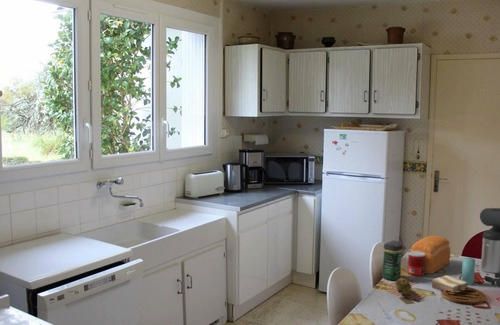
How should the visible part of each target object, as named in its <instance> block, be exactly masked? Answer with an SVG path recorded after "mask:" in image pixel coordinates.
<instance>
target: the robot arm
mask: <svg viewBox="0 0 500 325" xmlns="http://www.w3.org/2000/svg"><path fill="white" fill-rule="evenodd" d="M479 219H480V221H481V223H482V224H483V226H487V227H491V228H489V229H488V230H485V231H484V232H483V233H482V245H481V246H482V248H481V260H480V261H481V262H480V270H481V271H482V272H485V273H492V274H494V277H491V276H488V275H485V276H484V281H485V282H488V283H490V285H491V286H493V287H497V288H500V207H499V208H498V207H496V208H495V207H487V208H484V209H482V210H481V211H480V214H479Z"/></svg>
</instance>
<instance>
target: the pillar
mask: <svg viewBox="0 0 500 325" xmlns="http://www.w3.org/2000/svg"><path fill="white" fill-rule="evenodd" d="M461 265H462V266H461V280H463V281H466V282H467V286H473V285H474V284H475V283H474V282H475V272H476V271H475V270H476V269H475V267H476V259H475V258H471V257H463V258H462V264H461Z"/></svg>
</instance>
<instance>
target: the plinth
mask: <svg viewBox="0 0 500 325" xmlns="http://www.w3.org/2000/svg"><path fill="white" fill-rule="evenodd" d="M431 282H432V284H431V288H432V289H435V290H437V291H440V292H442V291H441V290H448V291H451V292H456V291H460V290H463V289H465V288H467V289H468V285H467V282H466V281H463V280H462V279H460V278H457V277H453V276H450V275H444V276H443V275H442V276H440V277H436V278H433V279H432V281H431Z"/></svg>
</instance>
